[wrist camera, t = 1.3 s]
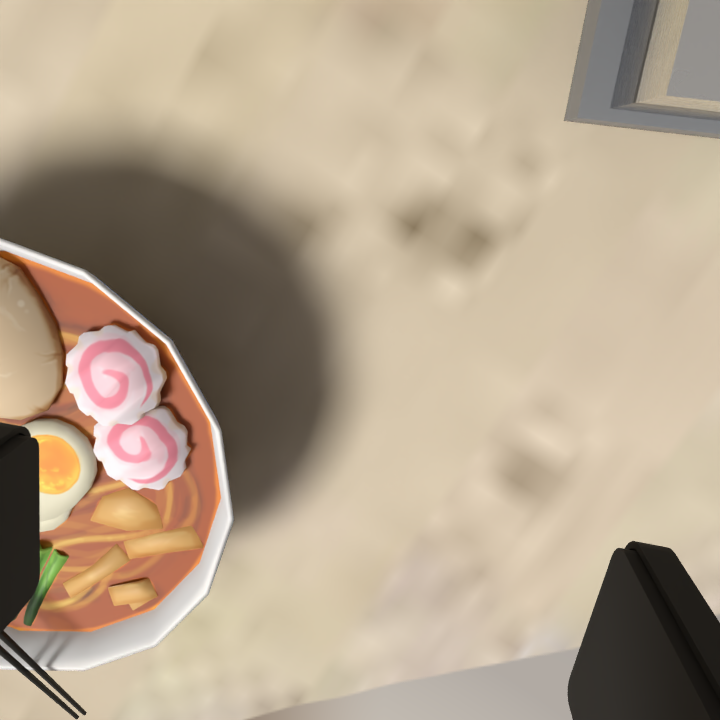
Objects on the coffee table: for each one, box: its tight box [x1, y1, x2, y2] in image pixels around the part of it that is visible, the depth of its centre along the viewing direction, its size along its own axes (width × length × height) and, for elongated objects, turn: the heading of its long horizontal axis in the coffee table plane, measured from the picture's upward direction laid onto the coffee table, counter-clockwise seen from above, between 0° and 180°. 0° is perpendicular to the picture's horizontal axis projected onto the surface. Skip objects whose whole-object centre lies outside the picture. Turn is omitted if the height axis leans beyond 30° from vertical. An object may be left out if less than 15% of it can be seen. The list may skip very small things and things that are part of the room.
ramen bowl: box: [0, 238, 234, 719], centre depth 32 cm, size 25×23×8 cm
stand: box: [564, 0, 720, 139], centre depth 26 cm, size 8×8×2 cm
